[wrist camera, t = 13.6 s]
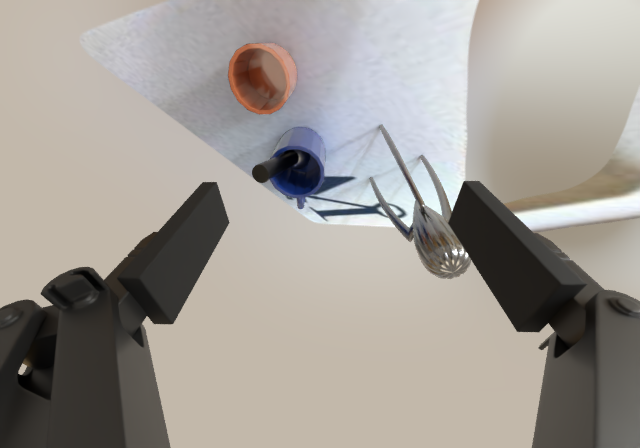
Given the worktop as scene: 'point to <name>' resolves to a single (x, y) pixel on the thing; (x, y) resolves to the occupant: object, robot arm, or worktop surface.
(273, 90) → the crock
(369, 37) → the worktop surface
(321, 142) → the mug
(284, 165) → the long black cylinder
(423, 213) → the juicer
